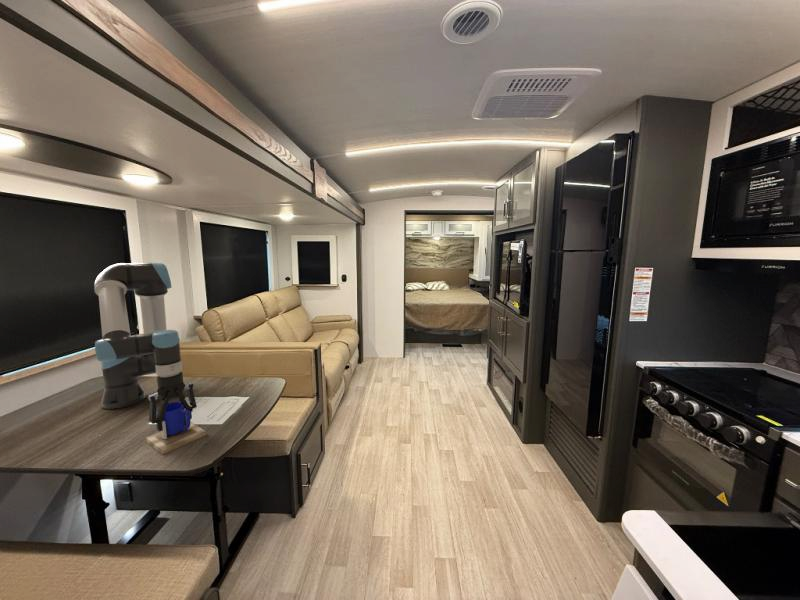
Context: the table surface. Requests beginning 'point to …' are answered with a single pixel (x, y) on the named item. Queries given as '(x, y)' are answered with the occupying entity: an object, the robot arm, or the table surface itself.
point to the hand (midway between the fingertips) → (176, 432)
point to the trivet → (175, 439)
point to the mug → (176, 418)
